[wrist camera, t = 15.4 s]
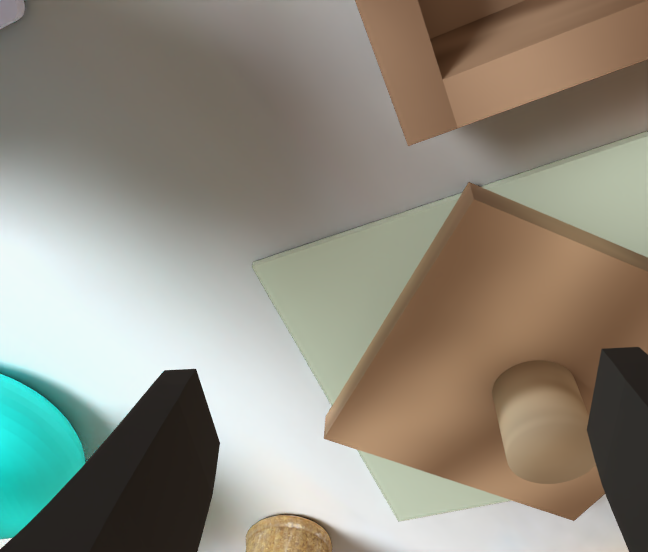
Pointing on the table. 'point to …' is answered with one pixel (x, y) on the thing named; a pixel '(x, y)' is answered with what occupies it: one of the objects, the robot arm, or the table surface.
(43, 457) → the donuts
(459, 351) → the lid
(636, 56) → the toolbox
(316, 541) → the sprinkles bottle
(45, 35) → the table surface
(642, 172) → the mat
